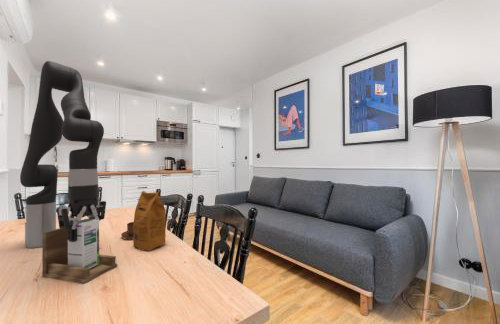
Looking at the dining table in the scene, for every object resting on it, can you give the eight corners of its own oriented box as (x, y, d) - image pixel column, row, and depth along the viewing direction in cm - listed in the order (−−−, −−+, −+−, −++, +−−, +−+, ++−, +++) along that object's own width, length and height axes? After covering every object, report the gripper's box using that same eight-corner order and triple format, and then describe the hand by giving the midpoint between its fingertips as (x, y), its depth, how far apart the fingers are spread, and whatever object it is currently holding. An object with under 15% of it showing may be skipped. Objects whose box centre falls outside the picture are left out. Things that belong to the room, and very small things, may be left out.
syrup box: (82, 272, 66) (83, 223, 67) (66, 270, 68) (67, 222, 68) (99, 264, 72) (100, 218, 72) (84, 262, 73) (84, 217, 74)
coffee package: (151, 239, 100) (151, 189, 100) (169, 245, 92) (168, 191, 92) (128, 246, 91) (128, 191, 92) (145, 253, 84) (145, 194, 84)
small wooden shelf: (42, 276, 67) (42, 232, 67) (79, 261, 78) (79, 223, 78) (83, 284, 63) (83, 237, 63) (116, 266, 73) (116, 226, 73)
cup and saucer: (155, 235, 106) (155, 222, 106) (130, 242, 96) (130, 228, 96) (140, 231, 112) (140, 218, 113) (115, 238, 102) (115, 224, 102)
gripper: (95, 181, 78) (95, 230, 78) (48, 185, 64) (48, 245, 64) (113, 182, 76) (113, 232, 76) (68, 186, 62) (68, 247, 62)
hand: (83, 237), depth 70 cm, fingers open, 6 cm apart
